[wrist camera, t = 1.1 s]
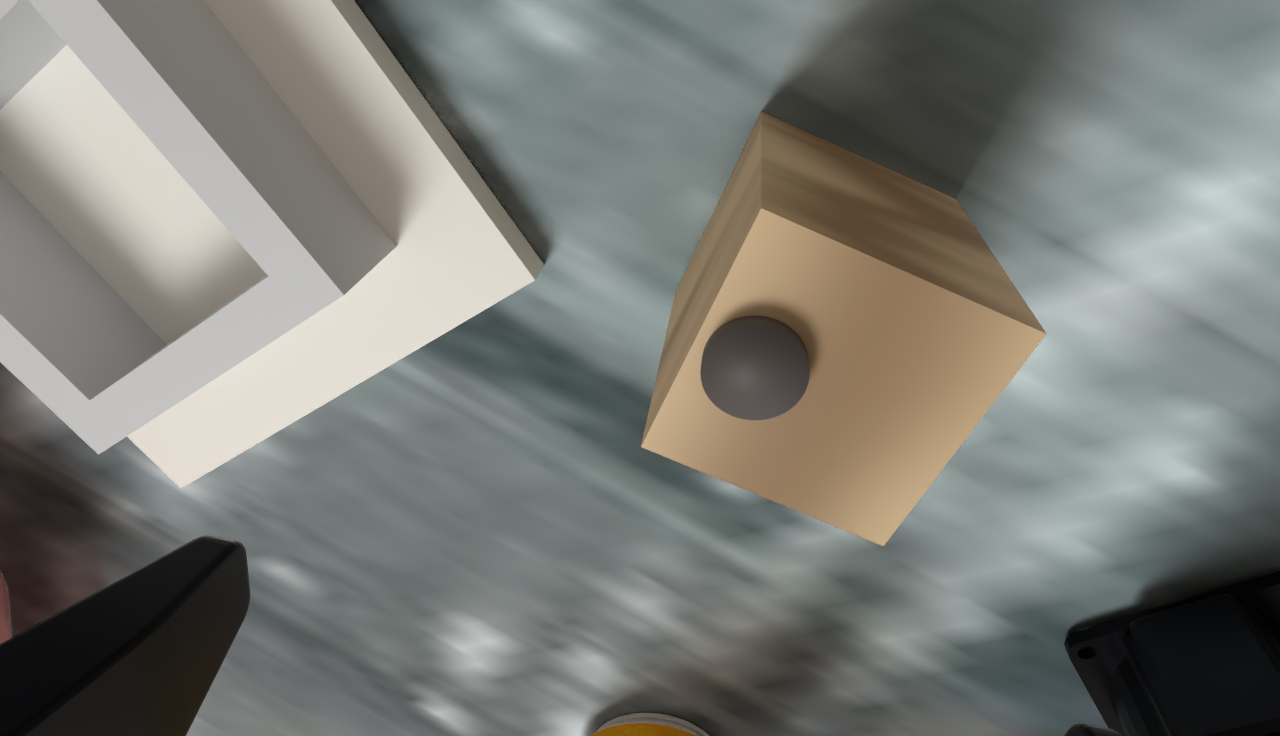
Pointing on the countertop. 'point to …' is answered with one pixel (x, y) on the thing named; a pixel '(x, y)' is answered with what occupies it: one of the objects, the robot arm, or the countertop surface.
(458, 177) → the socket plate
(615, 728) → the beer can
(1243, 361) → the countertop surface
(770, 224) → the tan block
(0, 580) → the cell model
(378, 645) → the countertop surface
